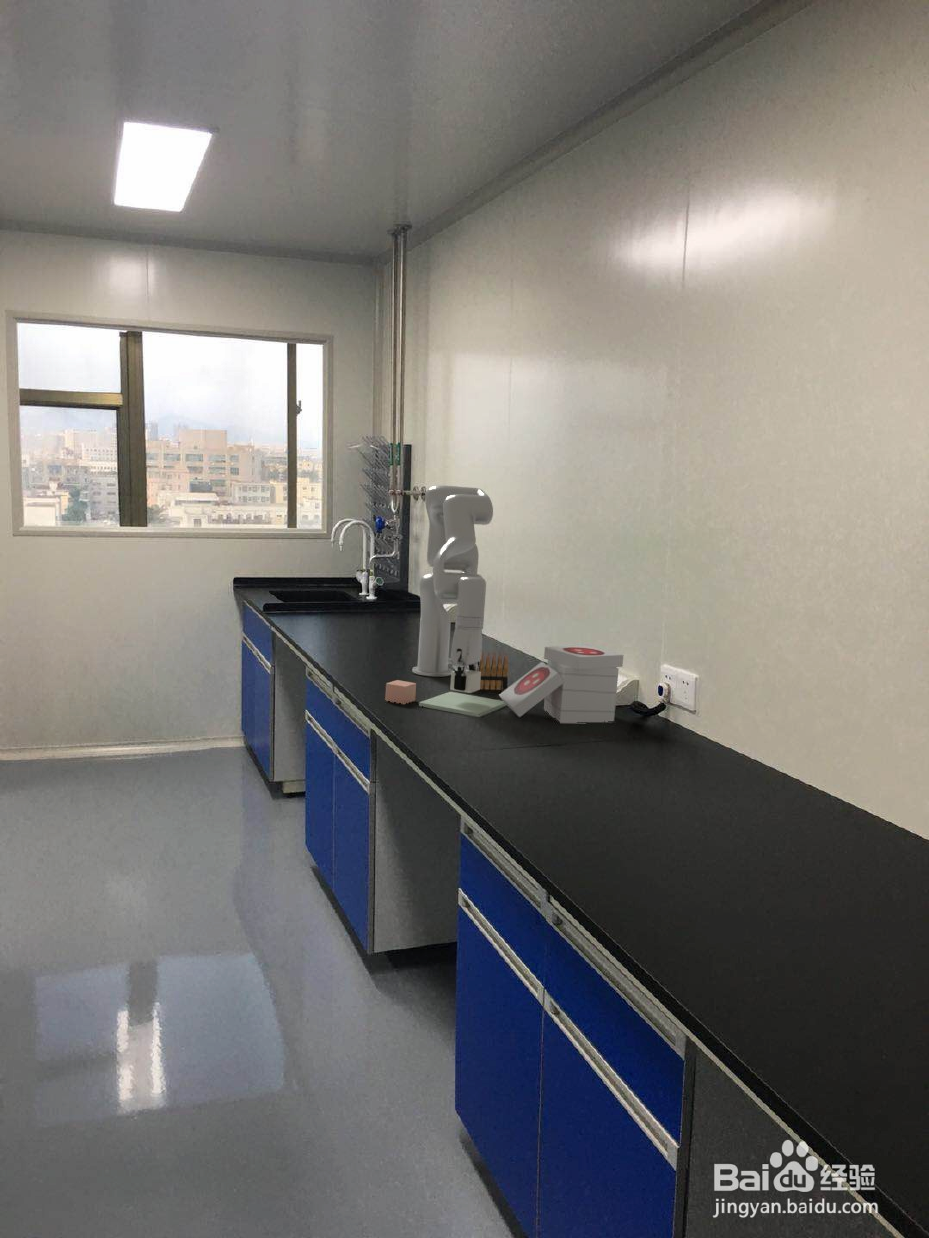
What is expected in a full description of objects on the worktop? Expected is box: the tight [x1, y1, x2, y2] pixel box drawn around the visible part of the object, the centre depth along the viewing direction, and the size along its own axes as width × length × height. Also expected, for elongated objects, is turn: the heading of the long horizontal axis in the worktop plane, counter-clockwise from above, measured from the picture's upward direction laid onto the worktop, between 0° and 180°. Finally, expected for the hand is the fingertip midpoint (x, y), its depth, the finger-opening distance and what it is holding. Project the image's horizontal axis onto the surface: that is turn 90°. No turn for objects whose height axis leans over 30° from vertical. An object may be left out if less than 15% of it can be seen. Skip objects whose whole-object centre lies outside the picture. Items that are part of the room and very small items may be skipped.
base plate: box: [418, 691, 508, 718], centre depth 269 cm, size 18×18×1 cm
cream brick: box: [449, 668, 481, 694], centre depth 268 cm, size 6×6×5 cm
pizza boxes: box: [498, 644, 624, 724], centre depth 263 cm, size 19×30×18 cm, turn 102°
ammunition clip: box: [471, 651, 509, 694], centre depth 287 cm, size 11×2×12 cm, turn 101°
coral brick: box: [384, 679, 417, 705], centre depth 269 cm, size 6×6×5 cm
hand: (465, 687), depth 268 cm, fingers closed on cream brick, 6 cm apart
